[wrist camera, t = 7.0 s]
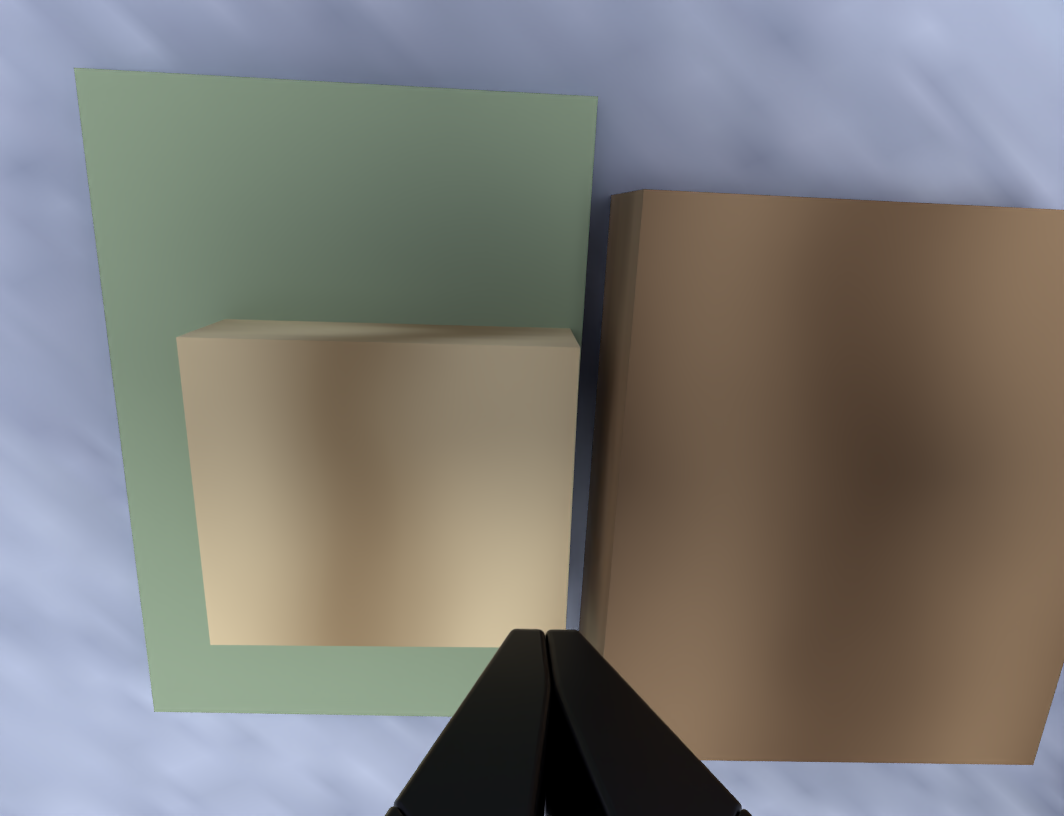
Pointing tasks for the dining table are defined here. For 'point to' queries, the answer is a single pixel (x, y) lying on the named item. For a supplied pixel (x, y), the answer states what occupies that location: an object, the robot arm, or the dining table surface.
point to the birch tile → (380, 480)
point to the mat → (310, 302)
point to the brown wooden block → (831, 475)
